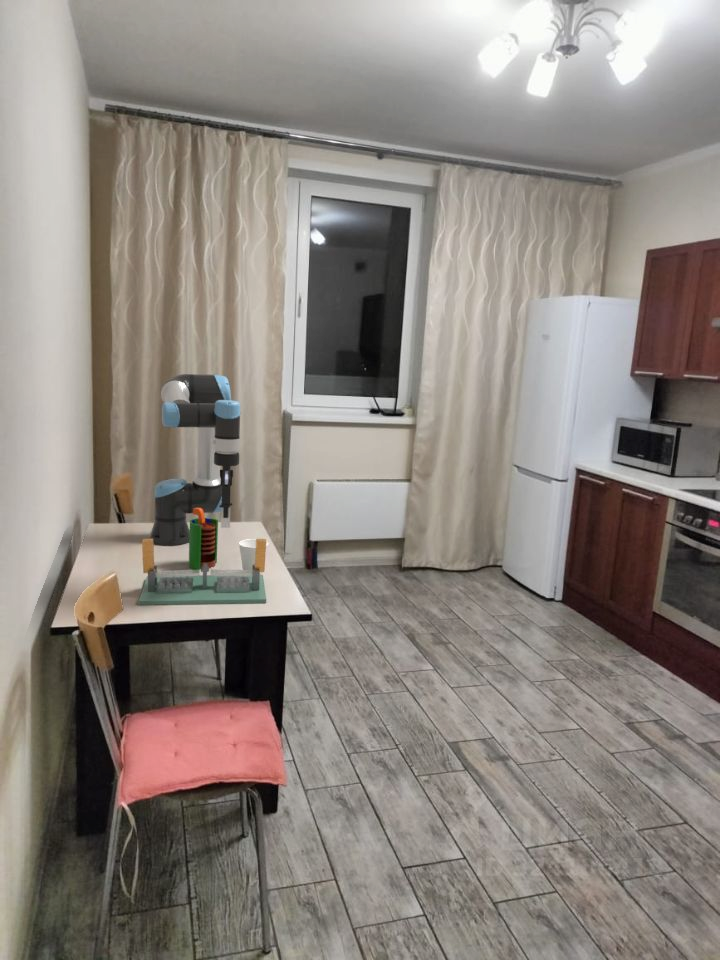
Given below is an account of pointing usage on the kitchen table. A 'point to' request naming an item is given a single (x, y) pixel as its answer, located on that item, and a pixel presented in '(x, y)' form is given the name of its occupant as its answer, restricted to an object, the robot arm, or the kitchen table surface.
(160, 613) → the kitchen table surface
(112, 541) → the kitchen table surface
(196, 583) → the board
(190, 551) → the motor
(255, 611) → the kitchen table surface
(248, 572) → the strap
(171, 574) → the strap
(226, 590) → the set of grey blocks
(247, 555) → the cup
